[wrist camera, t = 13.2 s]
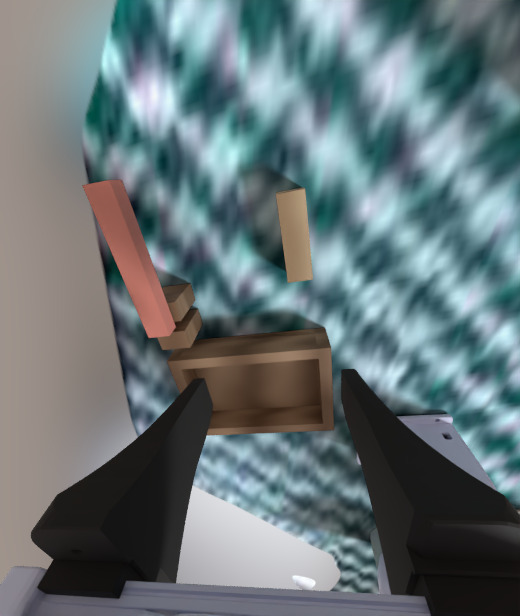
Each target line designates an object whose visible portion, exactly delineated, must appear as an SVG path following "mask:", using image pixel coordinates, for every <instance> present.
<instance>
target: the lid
mask: <svg viewBox="0 0 520 616" xmlns="http://www.w3.org/2000/svg"><path fill="white" fill-rule="evenodd" d="M276 198H277V206H278V213H279V220H280V227H281V235H282V242H283V249H284V256H285V264H286V271H287V278H288V283H290V282H297V281H304V280H311V279H313V274H312V263H311V252H310V240H309V229H308V218H307V207H306V195H305V189H304V188H296V189H291V190H286V191H281V192H276Z"/></svg>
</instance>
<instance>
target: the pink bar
mask: <svg viewBox="0 0 520 616" xmlns="http://www.w3.org/2000/svg"><path fill="white" fill-rule="evenodd" d="M83 188H84V190H85V192H86V195H87V197H88V200H89V202H90V204H91V206H92V209H93V211H94V213H95V216H96V218H97V220H98V222H99V225H100V227H101V229H102V232H103V234H104V236H105V238H106V241H107V243H108V245H109V248H110V250H111V252H112V255H113V257H114V259H115V261H116V264H117V266H118V268H119V271H120V273H121V275H122V277H123V280H124V282H125V284H126V287H127V289H128V291H129V293H130V296H131V298H132V300H133V303H134V305H135V307H136V310H137V312H138V314H139V316H140V319H141V321H142V323H143V326H144V328H145V330H146V332H147V335H148V337H149V338H154V337H164V336H170V335H171V333H172V332H173V330H174V329H175V328H176V326H175V323H174V320H173V318H172V315H171V312H170V310H169V307H168V304H167V301H166V299H165V296H164V293H163V291H162V288H161V285H160V282H159V280H158V277H157V274H156V272H155V269H154V266H153V263H152V261H151V258H150V255H149V253H148V250H147V247H146V244H145V242H144V239H143V236H142V233H141V231H140V228H139V225H138V223H137V220H136V217H135V214H134V212H133V209H132V206H131V204H130V201H129V198H128V195H127V193H126V190H125V187H124V185H123V182H122V180H107V181H102V182H97V183H92V184H86V185H83Z"/></svg>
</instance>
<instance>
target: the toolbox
mask: <svg viewBox="0 0 520 616" xmlns="http://www.w3.org/2000/svg"><path fill="white" fill-rule="evenodd" d="M162 291H163V293H164V296H165V299H166V301H167V304H168V307H169V310H170V312H171V315H172V318H173V320H174V323H175V326H176V328H175V329H174V330H173V332H172V333H171V335H170V336H164V337H157V338H158V340H159V343H160V345H161V348H162V350H170V349H174V351H173V352H172V354H171V356H170V357H169V359H168V361H167V363H168V366H169V368H170V370H171V373H172V375H173V378H174V380H175V382H176V385H177V387H178V389H179V392H180V394H181V393H182V392H183V391H184V389H185V388H186V387H187V386H188V385H189V384H190V383H191V381H192V380H193V379H197V378H205V381H206V384H207V387H208V390H209V393H210V396H211V399H212V402H213V410H212V416H211V421H210V425H209V429H208V432H207V435H228V434H252V433H277V432H301V431H325V430H334V417H333V389H332V361H331V346H330V343H329V339H328V336H327V333H326V329H325V328H316V329H305V330H295V331H284V332H274V333H263V334H253V335H243V336H232V337H222V338H211V339H201V340H195V338H196V336H197V334H198V332H199V330H200V328H201V326H202V324H203V323H202V320H201V316H200V313H199V310H198V309H192V310H189V309H190V307H191V306H192V304H193V303H194V301H195V297H194V294H193V290H192V287H191V284H190V283H189V284H181V285H173V286H165V287H163V288H162Z"/></svg>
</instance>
